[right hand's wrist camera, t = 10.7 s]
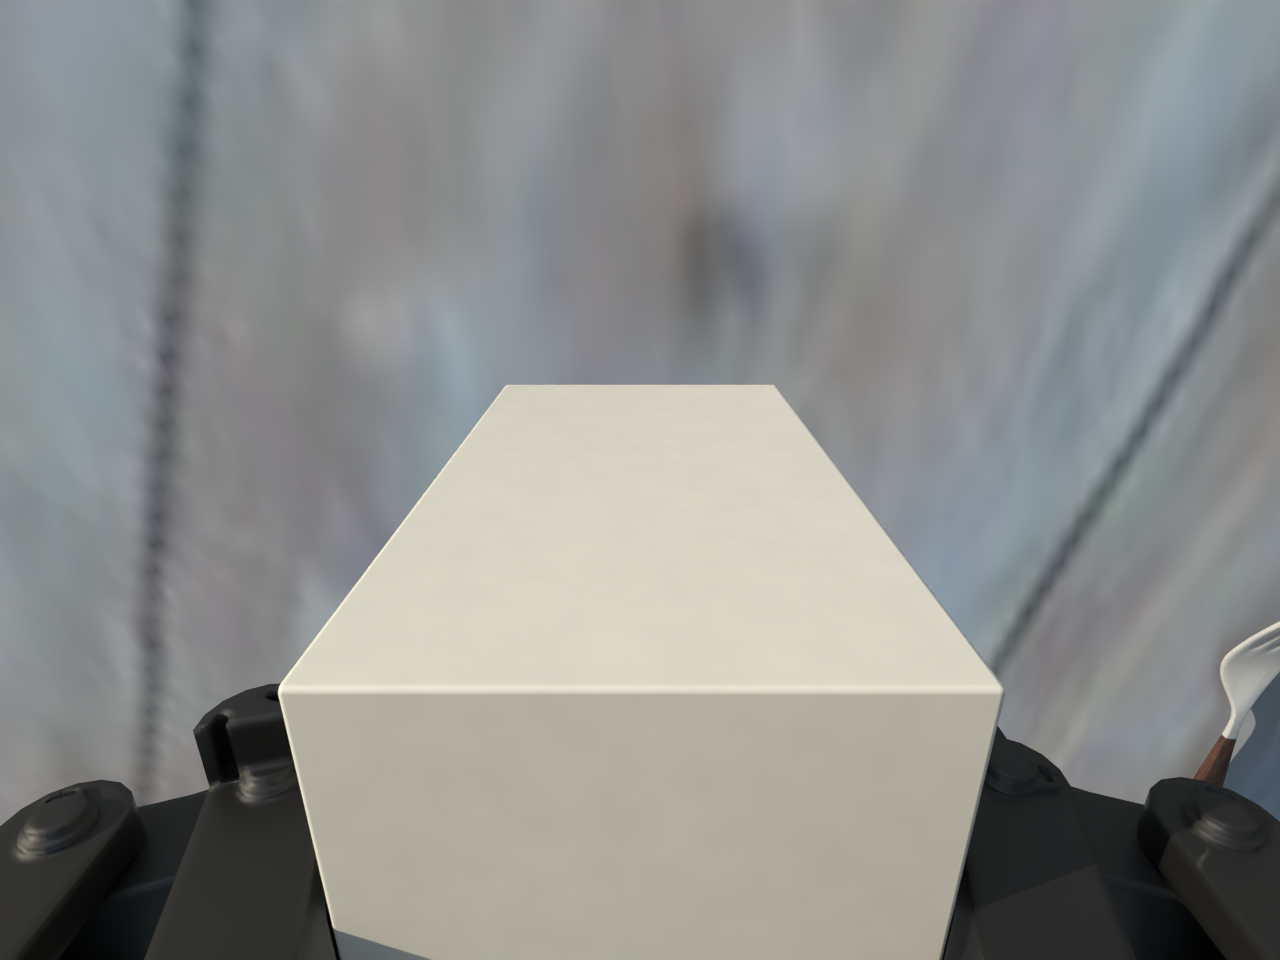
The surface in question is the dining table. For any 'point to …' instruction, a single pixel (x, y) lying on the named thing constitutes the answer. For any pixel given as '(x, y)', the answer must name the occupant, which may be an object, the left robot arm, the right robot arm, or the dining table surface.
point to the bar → (641, 701)
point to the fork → (1241, 694)
